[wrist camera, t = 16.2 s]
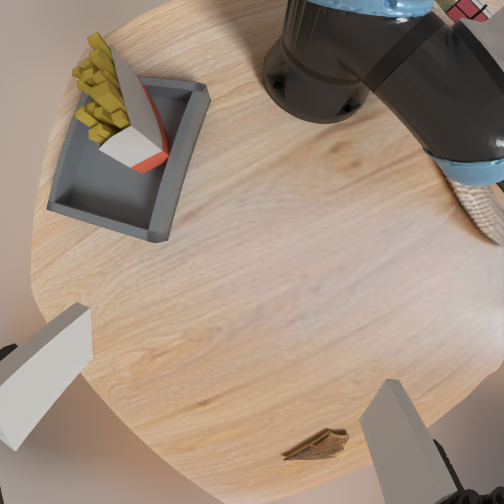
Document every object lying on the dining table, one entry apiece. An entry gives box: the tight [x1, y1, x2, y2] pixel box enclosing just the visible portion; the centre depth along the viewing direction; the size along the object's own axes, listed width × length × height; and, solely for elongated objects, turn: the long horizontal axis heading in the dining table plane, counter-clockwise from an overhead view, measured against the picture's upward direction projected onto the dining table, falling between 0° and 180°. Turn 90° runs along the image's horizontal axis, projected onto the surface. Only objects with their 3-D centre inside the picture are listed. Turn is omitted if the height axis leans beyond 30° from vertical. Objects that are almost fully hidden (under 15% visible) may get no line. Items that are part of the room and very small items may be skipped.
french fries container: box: [72, 32, 171, 173], centre depth 23 cm, size 5×11×18 cm, turn 22°
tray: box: [47, 77, 211, 243], centre depth 31 cm, size 20×18×5 cm
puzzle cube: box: [446, 0, 495, 23], centre depth 25 cm, size 10×10×10 cm
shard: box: [284, 430, 349, 460], centre depth 38 cm, size 11×8×2 cm
